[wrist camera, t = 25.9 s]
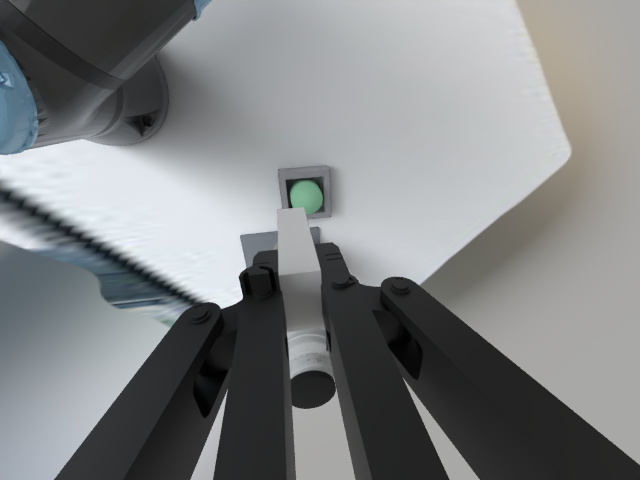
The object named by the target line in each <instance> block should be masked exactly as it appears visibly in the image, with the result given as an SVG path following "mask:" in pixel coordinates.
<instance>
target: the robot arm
mask: <svg viewBox="0 0 640 480" xmlns="http://www.w3.org/2000/svg"><path fill="white" fill-rule="evenodd" d="M210 1H211V0H0V155H8V154H17V153H21V152H23V151H24V150H28V149H33V148H38V147H43V146H48V145H53V144H58V143H63V142H68V141H73V140H78V139H85V140H88V141H92V142H95V143H99V144H103V145H111V146H122V145H129V144H133V143H137V142H140V141H143V140H145V139H147V138H149V137H150V136H152V135H153V134H154V133H155V132H156V131H157V130H158V129H159V128H160V126H161V125H162V123H163V121H164V119H165V117H166V113H167V109H168V88H167V83H166V80H165V76H164V74H163V71H162V69H161V66H160V64H159V63H158V61H157V59H156V57H155V56H154V55H155V54H156V53H157V52H158V51H159V50H160V49H161V48H162V47H163V46H164V45H166V44H167V43H168V42H169V41H170V40H171V39H172V38H173V37H174V36H175V35H176V34H177V33H178V32H179V31H180V30H181V29H182V28H184V27H185V26H186V25H187V24H188V23H189V22H190V21H191V20H193V21H196V20H198V19H199V17H200V15H201V12H202V10H203V9H204V8H205V7H206V6H207V5H208V4H209V2H210ZM277 214H278V249H276V250H267V251H259V252H258V253H257V254H256V255H255V256H254V257H253V263H252V266H251V267H249V268H246V269H245V270H244V271H242V272H241V274H240V275H239V280H240V285H241V289H242V293H243V299H242V300H241V301H240V302H238V303H236V304H234V305H232V306H229V307H226V308H224V309H220V306H218V305H217V304H216V303H210V302H207V303H200V304H197V305H194V306H192V307H191V308H189V309H187V310H186V311H185V312H184V313H183V314H182V315H181V316H180V317H179V318H178V320H177V321H176V322H175V323H174V325H173V326H172V327H171V329H170V330H169V331H168V333H167V334H166V335H165V336H164V338H163V339H162V340H161V342H160V343H159V344H158V345H157V347H156V348H155V350H154V351H153V352H152V353H151V355H150V356H149V357H148V358H147V360H146V361H145V362H144V364H143V365H142V366H141V368H140V369H139V370H138V371H137V373H136V374H135V375H134V377H133V378H132V379H131V381H130V382H129V383H128V384H127V386H126V387H125V388H124V390H123V391H122V392H121V393H120V395H119V396H118V397H117V399H116V400H115V401H114V403H113V404H112V405H111V407H110V408H109V409H108V410H107V412H106V413H105V414H104V416H103V417H102V418H101V419H100V421H99V422H98V423H97V425H96V426H95V427H94V429H93V430H92V431H91V433H90V434H89V435H88V436H87V438H86V439H85V440H84V442H83V443H82V444H81V446H80V447H79V448H78V449H77V451H76V452H75V453H74V454H73V456H72V457H71V458H70V460H69V461H68V462H67V464H66V465H65V466H64V467H63V469H62V470H61V471H60V473H59V474H58V476H57V477H56V478H55V479H54V480H190V479H191V476H192V474H193V471H194V469H195V467H196V464H197V462H198V459H199V457H200V455H201V452H202V450H203V447H204V445H205V443H206V440H207V437H208V435H209V433H210V430H211V428H212V426H213V423H214V421H215V418H216V416H217V413H218V411H219V409H220V406H221V404H222V401H223V399H224V397H225V394H226V392H227V389H228V392H227V398H226V404H225V410H224V417H223V423H222V428H221V435H220V441H219V447H218V453H217V460H216V465H215V472H214V478H213V480H296V471H295V453H294V435H293V419H292V400H291V382H290V364H289V347H288V338H287V332H294V331H300V330H307V329H314V328H321V327H324V324H325V333H326V351H329V355H330V360H331V365H332V369H333V374H334V378H335V384H336V388H337V393H338V398H339V403H340V407H341V412H342V416H343V422H344V427H345V431H346V436H347V441H348V445H349V450H350V455H351V460H352V464H353V469H354V474H355V479H356V480H449V478H448V476H447V473H446V471H445V469H444V467H443V465H442V463H441V460H440V458H439V456H438V454H437V452H436V450H435V447H434V445H433V443H432V441H431V439H430V436H429V434H428V432H427V430H426V428H425V425H424V423H423V421H422V419H421V417H420V415H419V412H418V410H417V408H416V406H415V404H414V402H413V399H412V397H411V395H410V393H409V391H408V389H407V386H406V384H405V382H404V380H403V378H404V379H405V381H406V382H407V383H408V385H409V386H410V387H411V388H412V390H413V391H414V393H415V394H416V395H417V397H418V398H419V399H420V401H421V402H422V403H423V405H424V406H425V407H426V409H427V410H428V411H429V413H430V414H431V415H432V417H433V418H434V419H435V421H436V422H437V423H438V425H439V426H440V427H441V429H442V430H443V431H444V433H445V434H446V435H447V436H448V438H449V439H450V441H451V442H452V443H453V445H454V446H455V447H456V448H457V450H458V451H459V453H460V454H461V455H462V457H463V458H464V459H465V460H466V462H467V463H468V464H469V466H470V467H471V468H472V470H473V471H474V472H475V474H476V475H477V476H478V478H479V479H480V480H640V465H639V464H638V463H636V462H635V461H634V460H633V459H631V458H630V457H629V456H628V455H627V454H625V453H624V452H623V451H622V450H620V449H619V448H618V447H617V446H616V445H614V444H613V443H612V442H611V441H609V440H608V439H607V438H606V437H604V436H603V435H602V434H601V433H599V432H598V431H597V430H596V429H595V428H593V427H592V426H591V425H590V424H588V423H587V422H586V421H585V420H583V419H582V418H581V417H580V416H579V415H577V414H576V413H575V412H574V411H573V410H571V409H570V408H569V407H568V406H566V405H565V404H564V403H563V402H561V401H560V400H559V399H558V398H557V397H555V396H554V395H553V394H552V393H550V392H549V391H548V390H547V389H545V388H544V387H543V386H542V385H541V384H539V383H538V382H537V381H536V380H534V379H533V378H532V377H531V376H529V375H528V374H527V373H526V372H525V371H523V370H522V369H521V368H520V367H518V366H517V365H516V364H515V363H513V362H512V361H511V360H510V359H509V358H507V357H506V356H505V355H503V354H502V353H501V352H500V351H499V350H497V349H496V348H495V347H494V346H493V345H491V344H490V343H488V342H487V341H486V340H485V339H484V338H483V337H481V336H480V335H479V334H478V333H477V332H475V331H474V330H473V329H471V328H470V327H469V326H468V325H467V324H465V323H464V322H463V321H462V320H460V319H459V318H458V317H457V316H456V315H454V314H453V313H452V312H451V311H449V310H448V309H447V308H446V307H445V306H443V305H442V304H441V303H440V302H438V301H437V300H436V299H435V298H434V297H432V296H431V295H430V294H429V293H427V292H426V291H425V290H424V289H422V288H421V287H420V286H419V285H418V284H416V283H415V282H413V281H412V280H410V279H407V278H404V277H390V278H387V279H385V280H384V281H383V282H382V283H381V287H373V286H365V285H362V284H359V282H358V280H357V279H356V278H355V277H354V276H352V275H350V273H349V271H348V268H347V266H346V264H345V261H344V259H343V257H342V255H341V252H340V250H339V248H338V246H336V245H335V244H333V243H332V242H331V243H322V244H314V243H313V239H312V236H311V232H310V228H309V224H308V221H307V217H306V213H305V210H304V207H300V208H289V209H279V210H277Z"/></svg>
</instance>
